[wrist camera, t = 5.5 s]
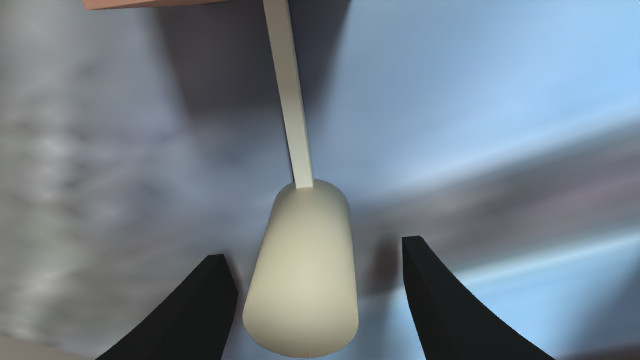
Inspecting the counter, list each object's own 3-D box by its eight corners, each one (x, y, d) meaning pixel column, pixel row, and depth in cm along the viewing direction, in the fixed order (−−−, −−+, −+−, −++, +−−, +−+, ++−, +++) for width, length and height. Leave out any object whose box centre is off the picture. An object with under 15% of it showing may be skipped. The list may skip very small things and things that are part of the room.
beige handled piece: (339, -302, 7) (354, -868, 2) (370, 238, 13) (389, 354, 9) (130, -258, 7) (-193, -670, 3) (262, 246, 14) (230, 361, 9)
